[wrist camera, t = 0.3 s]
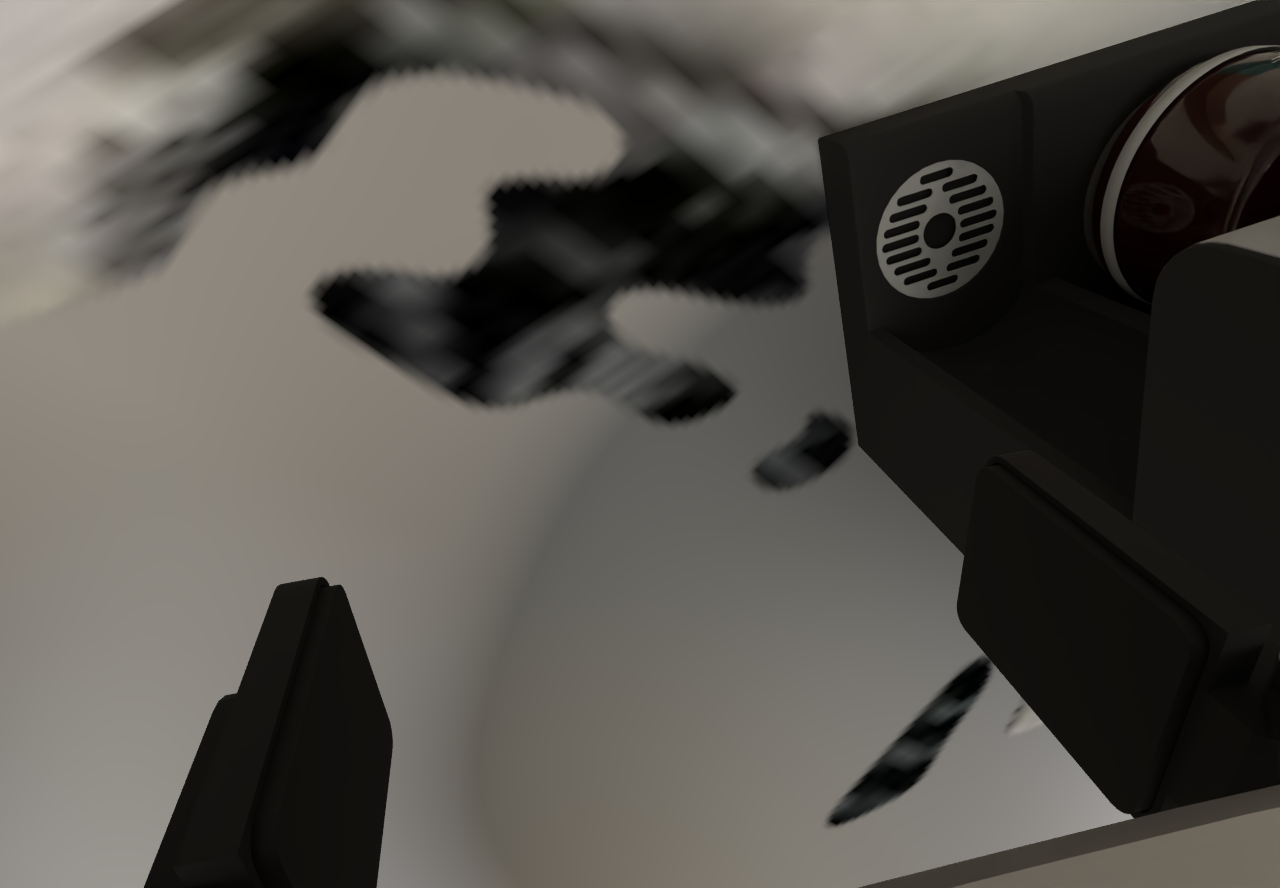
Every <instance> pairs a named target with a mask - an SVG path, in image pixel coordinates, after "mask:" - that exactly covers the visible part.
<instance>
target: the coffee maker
mask: <svg viewBox="0 0 1280 888" xmlns="http://www.w3.org/2000/svg"><path fill="white" fill-rule="evenodd" d="M818 141H819V149H820V156H821V164H822V171H823V179H824V187H825V194H826V202H827V209H828V217H829V225H830V232H831V240H832V247H833V255H834V263H835V270H836V277H837V285H838V293H839V301H840V307H841V315H842V323H843V331H844V338H845V346H846V354H847V361H848V369H849V376H850V384H851V392H852V399H853V406H854V415H855V422H856V430H857V437H858V445H859V446H860V447H861V448H862V449H863V450H864V452H865V453H866V454H867V455H868V456H869V457H870V458H871V459H872V460H873V461H874V462H875V463H876V464H877V465H878V466H879V467H880V468H881V469H882V470H883V471H884V472H885V473H886V474H887V475H888V477H889V478H890V479H891V480H892V481H893V482H894V483H895V484H896V485H897V486H898V487H899V488H900V489H901V490H902V491H903V492H904V493H905V494H906V495H907V496H908V497H909V498H910V499H911V500H912V501H913V503H914V504H915V505H916V506H917V507H918V508H919V509H920V510H921V511H922V512H923V513H924V514H925V515H926V516H927V517H928V518H929V519H930V520H931V521H932V522H933V523H934V524H935V525H936V526H937V527H938V528H939V530H940V531H941V532H942V533H943V534H944V535H945V536H946V537H947V538H948V539H949V540H950V541H951V542H952V543H953V544H954V545H955V546H956V547H957V548H958V549H959V550H960V551H961V552H962V553H963V555H964V554H965V548H966V541H967V535H968V528H969V521H970V515H971V508H972V502H973V495H974V489H975V482H976V477H977V473H978V472H979V470H980V469H982V468H984V467H985V465H986V462H987V461H988V460H989V458H991V457H993V456H997V455H1003V454H1008V453H1014V452H1020V451H1025V450H1030V451H1033V452H1035V453H1037V454H1039V455H1040V456H1042V457H1043V458H1044V459H1046V460H1047V461H1048V462H1050V463H1051V464H1053V465H1054V466H1055V467H1057V468H1058V469H1060V470H1061V471H1062V472H1064V473H1065V474H1067V475H1068V476H1069V477H1071V478H1072V479H1073V480H1075V481H1076V482H1078V483H1079V484H1080V485H1082V486H1083V487H1085V488H1086V489H1087V490H1089V491H1090V492H1091V493H1093V494H1094V495H1096V496H1097V497H1098V498H1100V499H1101V500H1103V501H1104V502H1105V503H1107V504H1108V505H1110V506H1111V507H1112V508H1114V509H1115V510H1116V511H1118V512H1119V513H1121V514H1122V515H1123V516H1125V517H1126V518H1128V519H1129V520H1130V521H1132V522H1133V523H1134V524H1136V525H1137V526H1139V527H1140V528H1141V529H1143V530H1144V531H1146V532H1147V533H1148V534H1150V535H1151V536H1153V537H1154V538H1155V539H1157V540H1158V541H1159V542H1161V543H1162V544H1164V545H1165V546H1166V547H1168V548H1169V549H1171V550H1172V551H1173V552H1175V553H1176V554H1177V555H1179V556H1180V557H1182V558H1183V559H1184V560H1186V561H1187V562H1189V563H1190V564H1191V565H1193V566H1194V567H1195V568H1197V569H1198V570H1200V571H1201V572H1202V573H1204V574H1205V575H1207V576H1208V577H1209V578H1211V579H1212V580H1214V581H1215V582H1216V583H1218V584H1219V585H1220V586H1222V587H1223V588H1225V589H1226V590H1227V591H1229V592H1230V593H1232V594H1233V595H1234V596H1236V597H1237V598H1238V599H1240V600H1241V601H1243V602H1244V603H1245V604H1247V605H1248V606H1250V607H1251V608H1252V609H1254V610H1255V611H1257V612H1258V613H1259V614H1261V615H1262V616H1263V617H1265V618H1266V619H1268V620H1269V621H1270V622H1272V623H1273V624H1272V627H1271V629H1270V631H1269V634H1268V636H1267V639H1268V640H1269V641H1271V642H1272V643H1273V644H1275V645H1276V646H1277V647H1279V648H1280V0H1256V1H1253V2H1249V3H1246V4H1243V5H1240V6H1237V7H1234V8H1230V9H1227V10H1224V11H1221V12H1218V13H1215V14H1211V15H1208V16H1205V17H1202V18H1199V19H1196V20H1192V21H1189V22H1186V23H1183V24H1180V25H1177V26H1173V27H1170V28H1167V29H1164V30H1161V31H1158V32H1154V33H1151V34H1148V35H1145V36H1142V37H1139V38H1135V39H1132V40H1129V41H1126V42H1123V43H1120V44H1116V45H1113V46H1110V47H1107V48H1104V49H1101V50H1097V51H1094V52H1091V53H1088V54H1085V55H1082V56H1078V57H1075V58H1072V59H1069V60H1066V61H1063V62H1059V63H1056V64H1053V65H1050V66H1047V67H1044V68H1040V69H1037V70H1034V71H1031V72H1028V73H1025V74H1021V75H1018V76H1015V77H1012V78H1009V79H1006V80H1002V81H999V82H996V83H993V84H990V85H987V86H983V87H980V88H977V89H974V90H971V91H968V92H964V93H961V94H958V95H955V96H952V97H949V98H945V99H942V100H939V101H936V102H933V103H930V104H926V105H923V106H920V107H917V108H914V109H911V110H907V111H904V112H901V113H898V114H895V115H892V116H888V117H885V118H882V119H879V120H876V121H873V122H870V123H866V124H863V125H860V126H857V127H854V128H851V129H847V130H844V131H841V132H838V133H835V134H832V135H828V136H825V137H822V138H820V139H819V140H818Z"/></svg>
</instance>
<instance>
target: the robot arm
mask: <svg viewBox="0 0 1280 888" xmlns="http://www.w3.org/2000/svg"><path fill="white" fill-rule="evenodd" d="M957 613H958V617H959V620H960V622H961V624H962V626H963V627H964V629H965V630H966V631H967V633H968V634H969V635H970V636H971V637H972V638H973V640H974V641H975V642H976V643H977V645H979V647H980V648H981V649H982V650H983V652H984V653H985V654H986V655H987V656H988V658H989V659H990V660H991V661H992V662H993V664H994V665H995V666H996V667H997V668H998V669H999V671H1000V672H1001V673H1002V674H1003V675H1004V676H1005V678H1006V679H1007V680H1008V681H1009V683H1010V684H1011V685H1012V686H1013V687H1014V688H1015V690H1016V691H1017V692H1018V693H1019V694H1020V696H1021V697H1022V698H1023V699H1024V700H1025V701H1026V703H1027V704H1028V705H1029V706H1030V707H1031V709H1032V710H1033V711H1034V712H1035V713H1036V715H1037V716H1038V717H1039V718H1040V719H1041V720H1042V722H1043V723H1044V724H1045V725H1046V726H1047V728H1048V729H1049V730H1050V731H1051V732H1052V733H1053V735H1054V736H1055V737H1056V738H1057V739H1058V741H1059V742H1060V743H1061V744H1062V745H1063V747H1064V748H1065V749H1066V750H1067V751H1068V753H1069V754H1070V755H1071V756H1072V757H1073V758H1074V760H1075V761H1076V762H1077V763H1078V764H1079V766H1080V767H1081V768H1082V769H1083V770H1084V771H1085V773H1086V774H1087V775H1088V776H1089V777H1090V779H1091V780H1092V781H1093V782H1094V783H1095V784H1096V786H1097V787H1098V788H1099V789H1100V790H1101V792H1102V793H1103V794H1104V795H1105V796H1106V798H1107V799H1108V800H1109V801H1110V802H1111V803H1112V804H1113V805H1114V806H1115V807H1116V808H1117V809H1118V810H1119V811H1121V812H1123V813H1126V814H1131V815H1132V817H1133V818H1134V819H1130V820H1126V821H1123V822H1118V823H1115V824H1110V825H1106V826H1102V827H1098V828H1094V829H1090V830H1086V831H1082V832H1078V833H1074V834H1070V835H1066V836H1062V837H1058V838H1054V839H1050V840H1046V841H1042V842H1038V843H1034V844H1029V845H1025V846H1022V847H1018V848H1013V849H1009V850H1006V851H1001V852H997V853H994V854H989V855H986V856H982V857H977V858H974V859H969V860H965V861H962V862H958V863H954V864H950V865H946V866H942V867H938V868H934V869H930V870H926V871H922V872H918V873H914V874H910V875H906V876H902V877H898V878H894V879H890V880H886V881H882V882H878V883H875V884H871V885H867V886H863V887H859V888H1280V648H1279V647H1277V646H1276V645H1275V644H1273V643H1272V642H1271V641H1269V640H1268V639H1267V636H1268V634H1269V631H1270V629H1271V627H1272V624H1273V623H1272V622H1270V621H1269V620H1268V619H1266V618H1265V617H1263V616H1262V615H1261V614H1259V613H1258V612H1257V611H1255V610H1254V609H1252V608H1251V607H1250V606H1248V605H1247V604H1245V603H1244V602H1243V601H1241V600H1240V599H1238V598H1237V597H1236V596H1234V595H1233V594H1232V593H1230V592H1229V591H1227V590H1226V589H1225V588H1223V587H1222V586H1220V585H1219V584H1218V583H1216V582H1215V581H1214V580H1212V579H1211V578H1209V577H1208V576H1207V575H1205V574H1204V573H1202V572H1201V571H1200V570H1198V569H1197V568H1195V567H1194V566H1193V565H1191V564H1190V563H1189V562H1187V561H1186V560H1184V559H1183V558H1182V557H1180V556H1179V555H1177V554H1176V553H1175V552H1173V551H1172V550H1171V549H1169V548H1168V547H1166V546H1165V545H1164V544H1162V543H1161V542H1159V541H1158V540H1157V539H1155V538H1154V537H1153V536H1151V535H1150V534H1148V533H1147V532H1146V531H1144V530H1143V529H1141V528H1140V527H1139V526H1137V525H1136V524H1134V523H1133V522H1132V521H1130V520H1129V519H1128V518H1126V517H1125V516H1123V515H1122V514H1121V513H1119V512H1118V511H1116V510H1115V509H1114V508H1112V507H1111V506H1110V505H1108V504H1107V503H1105V502H1104V501H1103V500H1101V499H1100V498H1098V497H1097V496H1096V495H1094V494H1093V493H1091V492H1090V491H1089V490H1087V489H1086V488H1085V487H1083V486H1082V485H1080V484H1079V483H1078V482H1076V481H1075V480H1073V479H1072V478H1071V477H1069V476H1068V475H1067V474H1065V473H1064V472H1062V471H1061V470H1060V469H1058V468H1057V467H1055V466H1054V465H1053V464H1051V463H1050V462H1048V461H1047V460H1046V459H1044V458H1043V457H1042V456H1040V455H1039V454H1037V453H1035V452H1033V451H1030V450H1025V451H1020V452H1014V453H1008V454H1003V455H997V456H993V457H991V458H989V460H988V461H987V462H986V465H985V467H984V468H982V469H980V470H979V472H978V473H977V477H976V482H975V489H974V495H973V502H972V508H971V515H970V521H969V528H968V535H967V541H966V548H965V554H964V561H963V567H962V574H961V581H960V587H959V594H958V600H957ZM392 748H393V738H392V730H391V725H390V721H389V718H388V715H387V712H386V709H385V706H384V703H383V701H382V698H381V695H380V692H379V689H378V686H377V683H376V680H375V677H374V674H373V671H372V668H371V665H370V662H369V660H368V657H367V654H366V651H365V648H364V645H363V642H362V639H361V636H360V634H359V631H358V628H357V625H356V622H355V619H354V616H353V613H352V610H351V607H350V604H349V601H348V599H347V596H346V593H345V591H344V588H343V587H342V586H341V585H334V586H329V583H328V582H327V580H326V579H325V578H323V577H319V578H313V579H307V580H302V581H296V582H291V583H285V584H280V585H279V586H277V588H276V589H275V591H274V594H273V597H272V599H271V602H270V605H269V608H268V610H267V613H266V616H265V619H264V621H263V624H262V627H261V629H260V632H259V635H258V638H257V640H256V643H255V646H254V648H253V651H252V654H251V657H250V660H249V662H248V665H247V667H246V670H245V673H244V676H243V678H242V681H241V684H240V687H239V689H238V692H237V693H236V694H231V695H226V696H224V697H223V698H222V699H221V700H219V701H218V703H217V705H216V707H215V709H214V711H213V713H212V715H211V718H210V720H209V723H208V725H207V728H206V731H205V733H204V736H203V738H202V741H201V743H200V746H199V748H198V751H197V754H196V756H195V759H194V761H193V764H192V766H191V769H190V771H189V774H188V777H187V779H186V781H185V784H184V786H183V789H182V792H181V794H180V797H179V799H178V802H177V804H176V807H175V810H174V812H173V814H172V817H171V820H170V822H169V825H168V827H167V830H166V833H165V835H164V838H163V840H162V842H161V845H160V848H159V850H158V853H157V855H156V858H155V860H154V863H153V865H152V868H151V871H150V873H149V875H148V878H147V881H146V883H145V886H144V888H376V887H377V878H378V870H379V861H380V853H381V844H382V835H383V827H384V818H385V809H386V801H387V792H388V783H389V775H390V767H391V758H392Z"/></svg>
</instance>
